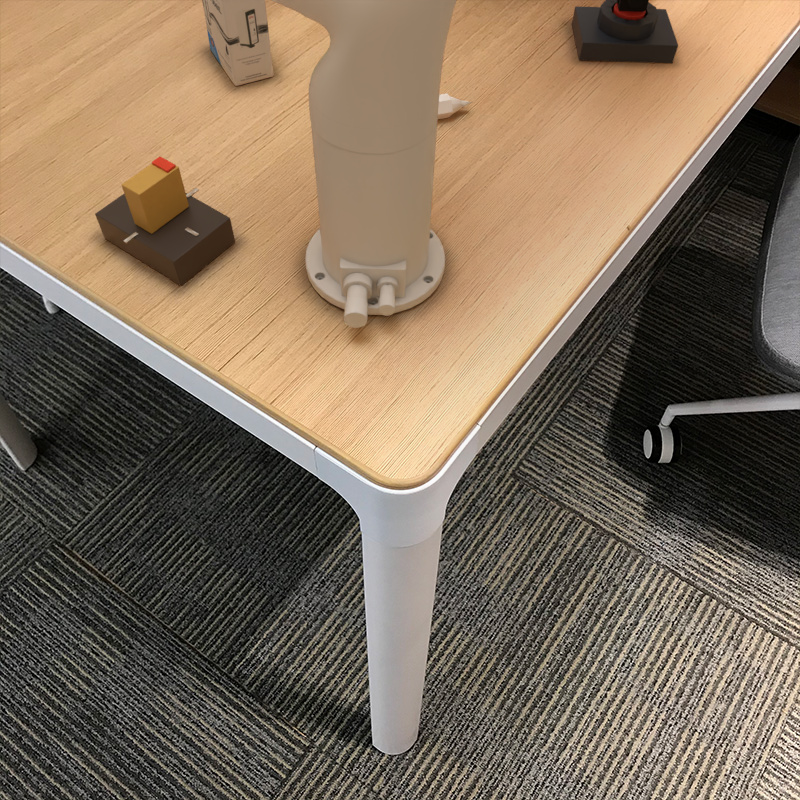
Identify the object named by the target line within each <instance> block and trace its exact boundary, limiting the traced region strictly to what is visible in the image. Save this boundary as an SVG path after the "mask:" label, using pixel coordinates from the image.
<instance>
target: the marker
mask: <svg viewBox="0 0 800 800" xmlns="http://www.w3.org/2000/svg"><path fill="white" fill-rule="evenodd" d="M472 103H473V101H468V100H464V99H463V100H462V99H459V98H457V97H454V96H451V95H449V93H448V92H446V93H441V94H440V93H439V105H438V120H442V119H448V118H451V116H452V115H454V114H455V113H457V112H458V111H459V110H461V109H464V108H465V107H467V106H469V105H470V104H472Z"/></svg>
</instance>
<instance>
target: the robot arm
mask: <svg viewBox="0 0 800 800" xmlns="http://www.w3.org/2000/svg"><path fill="white" fill-rule="evenodd" d="M271 1H272V2H273V3H276V4H278V5H281V6H283V7H285V8H287V9H289V10H292V11H294V12H296V13H299V14H300V15H302V16H303V17H305V18H307V19H309V20H312V21H314V22H316V23H318V24H319V25H320V26H322V27H323V28H324V29H325V30H326V31H327V33H328V36H329V39H330V40H329V47H328V49H327V50H326V51H325V53H324V54H323V55H322V57H321V58H320V59H319V60H318V62H317V63H316V65H315V66H314V68H313V70H312V73H311V75H310V80H309V83H308V109H309V120H310V126H311V138H312V150H313V162H314V172H315V184H316V185H315V186H316V195H317V208H318V218H319V219H318V220H319V228H318V229H317V230H316V232H314V234H313V236H312V237H311V238H310V239H309V242H308V244H307V247H306V249H305V256H304V257H305V258H304V261H305V270H306V274H307V278H308V280H309V282H310V284H311V285H312V287H313V289H314V290H315V292H317V293H318V294H319V295H320V297H321V298H323V299H324V300H326V301H327V302H328V303H330V304H331V305H334V306H336V307H337V308H339V309H342V310H344V311H343V312H344V313H343V322H344V324H345V325H346V326H347V327H350V328H352V329H353V328H354V329H360V328H363V327H365V326H366V325H367V322H368V318H369V317H368V316H378V315H379V316H381V315H382V316H384V317H385V316H386V317H388V316H392V315H394V314H396V313H400V312H403V311H406V310H410V309H412V308H413V307H415V306H418V305H420V304H421V303H423V302H424V301H425V300H427V299H428V298H430V297H431V296H432V294H433V293H434V292H435V291H436V290H437V289H438V287H439V286H440V283H441V282H442V281H443V277H444V273H445V268H446V253H445V248H444V246H443V244H442V241H441V239H440V238H439V236H438V235H437V234H436V233H435V231H434V230H433V229H432V228H431V220H432V208H433V206H432V205H433V191H434V179H435V163H436V149H437V135H438V120H439V119H438V105H439V95H440V90H441V82H442V81H441V80H442V71H443V63H444V56H445V50H446V45H447V40H448V34H449V30H450V27H451V21H452V17H453V15H454V11H455V7H456V3H457V0H271ZM648 2H649V3H650V0H617V5H618V8H619V11H634V12H644V11H645V10H646V9H647V5H648Z"/></svg>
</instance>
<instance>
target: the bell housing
mask: <svg viewBox="0 0 800 800" xmlns="http://www.w3.org/2000/svg"><path fill="white" fill-rule="evenodd" d="M616 3H617V0H604V1H603V3H601V4H600V6H579V5H578V6H575V7H574V12H573V14H572V19H571V27H572V33H573V37H574V42H575V47H576V53H577V57H578V61H584V62H585V61H587V62H588V61H589V62H590V61H591V62H618V63H619V62H621V63H623V62H624V63H653V64H673V62H674V60H675V57H676V54H677V50H678V47H679V43H678V41H677V40H678V39H677V38H676V34H675V31H674V28H673V25H672V23H671V20H670V18H669V17H670V16H669V14H668V11H667V9H666V8H657V7H656V5H654V4H652V3H651V2H650V1H649V2H648V5H647V9H646V12H645V15H644V18H642V19H639V20H627V19H623V18H620V17H618V16H616V15H615V14H614V13H613V10H614V6H615V4H616Z"/></svg>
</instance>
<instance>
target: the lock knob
mask: <svg viewBox="0 0 800 800" xmlns="http://www.w3.org/2000/svg"><path fill="white" fill-rule="evenodd" d="M121 188H122V190H123V194H125V197H126V199H127V202H128V205H129V208H130V211H131V214H132V217H133V220H134V223H135V224H136V225H138V226H139V227H141V228H143V229H144V230H146V231H148V232H149V233H151V234H152V233H154V232H155V231H157V230H158V229H159V228H161V227H162V226H163V225H165V224H166V223H167V222H169V221H170V220H171V219H173V218H174V217H175V216H177V215H178V214H179V213H181V212H182V211H183V210H185V209H186V208H188V207H189V204H188V200H187V196H186V193H187V192H186V190H185V189H186V188H185V185H184V181H183V177H182V174H181V170H180V167H179V166H178V165H176V164H175V163H173V162H171V161H169V160H167V159H166V158H164V157H162V156H158V157H156V158H155V159H154V160H152V161H151V163H150V164H149V165H148V166H146V167H144V168H143V169H141V170H140V171H139V172H137V173H136V174H134V175H132V176H131V177H130V178H128V179H127V180H126V181H124V182H123V183H122V184H121Z"/></svg>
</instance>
